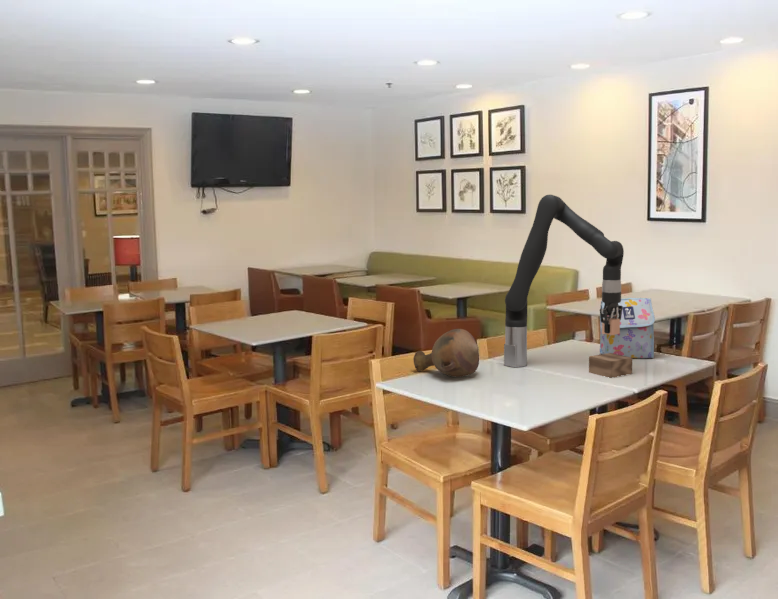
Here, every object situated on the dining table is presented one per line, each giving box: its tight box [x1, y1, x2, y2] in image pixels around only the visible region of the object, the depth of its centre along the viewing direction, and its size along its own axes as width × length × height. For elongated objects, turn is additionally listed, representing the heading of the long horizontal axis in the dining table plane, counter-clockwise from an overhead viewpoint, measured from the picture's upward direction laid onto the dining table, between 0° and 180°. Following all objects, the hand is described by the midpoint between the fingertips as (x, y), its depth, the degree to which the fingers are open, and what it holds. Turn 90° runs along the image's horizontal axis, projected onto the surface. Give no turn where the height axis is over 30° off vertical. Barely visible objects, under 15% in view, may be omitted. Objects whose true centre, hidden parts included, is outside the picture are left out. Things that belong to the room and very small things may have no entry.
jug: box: [412, 328, 480, 378], centre depth 319 cm, size 20×20×30 cm
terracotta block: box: [602, 318, 620, 335], centre depth 314 cm, size 5×5×6 cm
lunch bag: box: [599, 297, 656, 359], centre depth 346 cm, size 22×17×26 cm
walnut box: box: [588, 353, 633, 379], centre depth 316 cm, size 12×12×7 cm
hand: (610, 331), depth 314 cm, fingers closed on terracotta block, 5 cm apart
